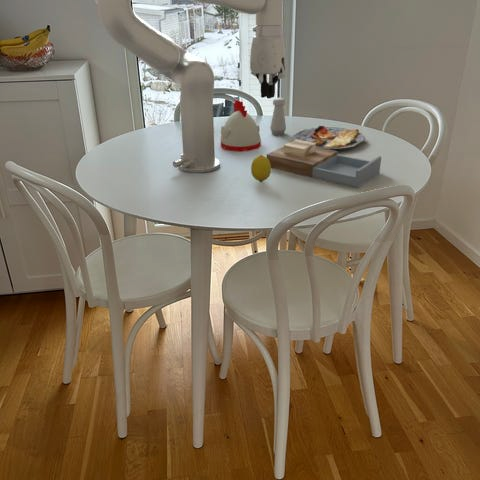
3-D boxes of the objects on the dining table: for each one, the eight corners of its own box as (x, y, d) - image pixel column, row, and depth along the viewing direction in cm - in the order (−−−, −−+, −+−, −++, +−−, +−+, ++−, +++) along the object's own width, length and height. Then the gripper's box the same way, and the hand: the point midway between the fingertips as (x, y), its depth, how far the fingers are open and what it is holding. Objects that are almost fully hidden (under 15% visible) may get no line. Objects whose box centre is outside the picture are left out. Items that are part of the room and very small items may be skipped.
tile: (303, 157, 147) (303, 149, 146) (283, 152, 151) (283, 144, 150) (315, 151, 152) (315, 143, 151) (295, 147, 156) (295, 139, 155)
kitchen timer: (248, 137, 180) (248, 95, 173) (268, 147, 170) (268, 102, 163) (213, 143, 175) (212, 99, 168) (231, 153, 164) (231, 107, 157)
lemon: (264, 187, 137) (265, 159, 133) (247, 183, 140) (247, 156, 136) (274, 181, 141) (274, 153, 138) (257, 177, 144) (257, 150, 140)
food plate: (315, 128, 189) (316, 119, 188) (374, 139, 178) (375, 129, 176) (281, 146, 172) (282, 136, 170) (344, 159, 160) (345, 149, 158)
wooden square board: (312, 177, 143) (313, 164, 141) (266, 166, 152) (266, 154, 150) (336, 163, 154) (337, 151, 152) (292, 154, 162) (292, 142, 160)
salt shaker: (268, 135, 182) (269, 99, 176) (272, 131, 187) (272, 96, 181) (284, 136, 181) (285, 100, 175) (287, 132, 185) (288, 97, 179)
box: (357, 188, 136) (359, 171, 133) (312, 177, 143) (313, 161, 141) (379, 172, 146) (381, 156, 144) (336, 163, 154) (337, 148, 151)
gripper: (239, 31, 144) (239, 96, 152) (284, 34, 136) (282, 102, 144) (254, 29, 149) (253, 92, 158) (299, 32, 141) (296, 98, 149)
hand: (267, 96), depth 151 cm, fingers closed
